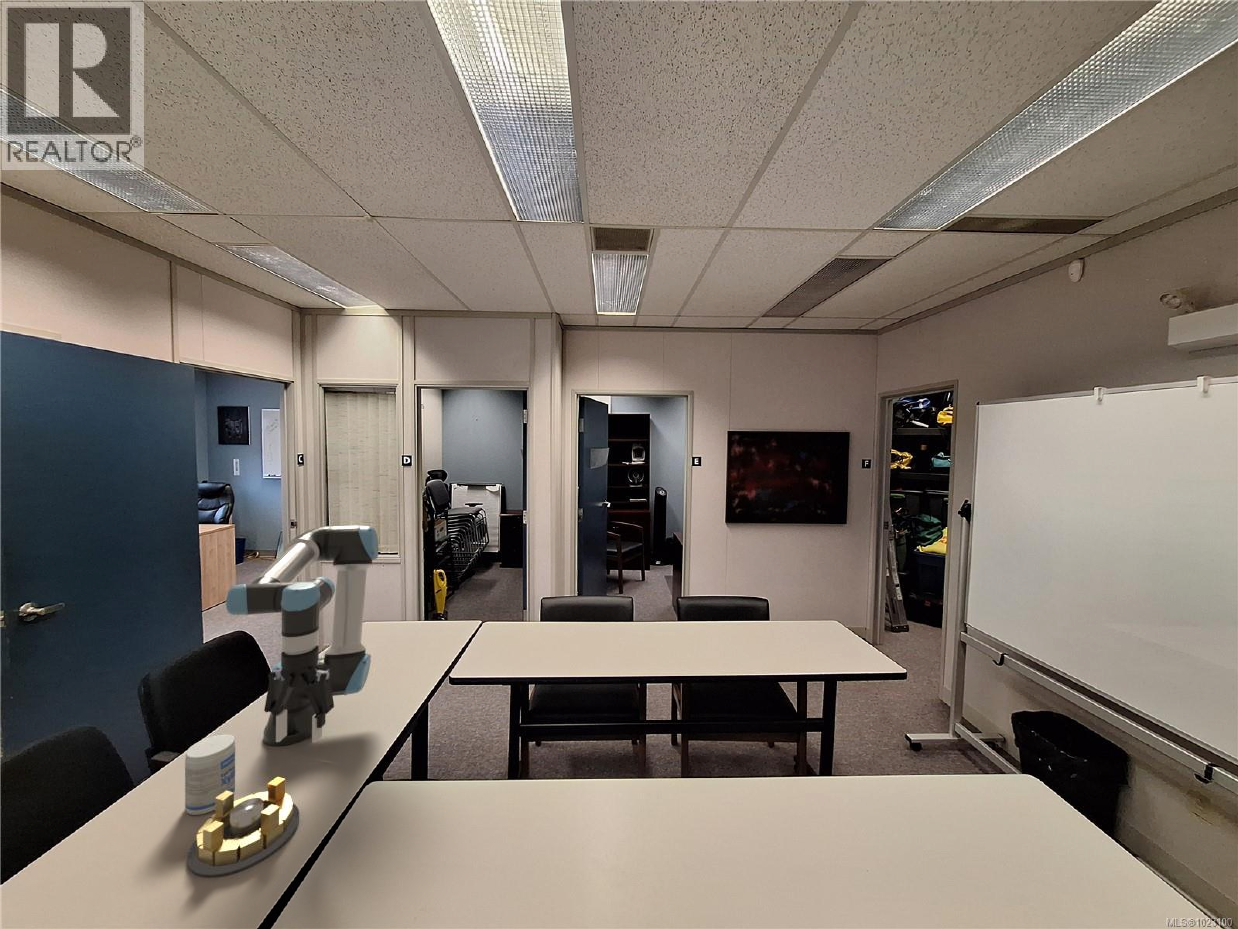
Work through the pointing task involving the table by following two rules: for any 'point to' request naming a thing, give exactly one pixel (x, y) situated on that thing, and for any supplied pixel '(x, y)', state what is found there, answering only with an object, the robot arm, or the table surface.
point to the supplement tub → (209, 772)
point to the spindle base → (243, 863)
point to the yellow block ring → (272, 827)
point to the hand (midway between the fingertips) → (299, 739)
